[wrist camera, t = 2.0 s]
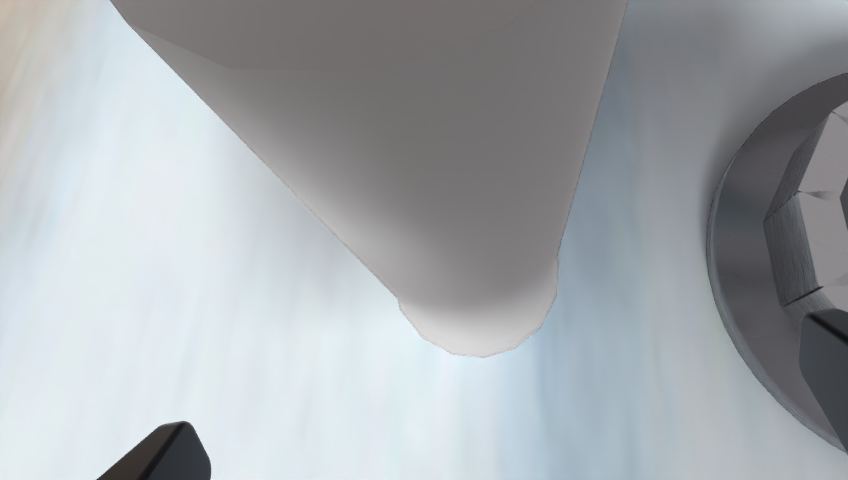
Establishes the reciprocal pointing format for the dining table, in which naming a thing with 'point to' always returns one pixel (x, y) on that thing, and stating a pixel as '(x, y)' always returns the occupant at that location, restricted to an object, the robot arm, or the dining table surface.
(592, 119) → the bottle
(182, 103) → the dining table surface
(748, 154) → the grey ring
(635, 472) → the dining table surface
